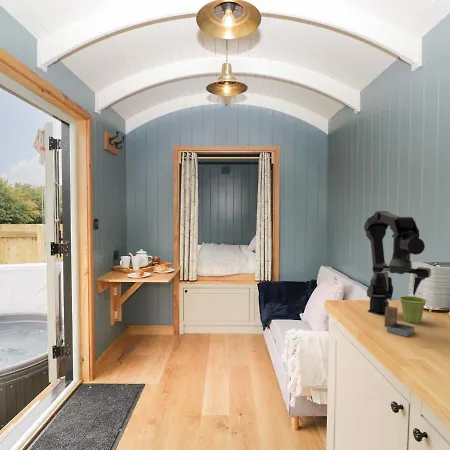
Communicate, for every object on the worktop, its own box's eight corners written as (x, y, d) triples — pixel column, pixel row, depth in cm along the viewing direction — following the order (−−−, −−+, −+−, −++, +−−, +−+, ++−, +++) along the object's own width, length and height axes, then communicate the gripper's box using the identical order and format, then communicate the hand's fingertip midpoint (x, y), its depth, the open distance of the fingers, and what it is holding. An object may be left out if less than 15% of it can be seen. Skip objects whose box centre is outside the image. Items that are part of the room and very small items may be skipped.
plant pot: (410, 325, 134) (411, 302, 134) (393, 318, 143) (394, 296, 143) (431, 324, 136) (432, 301, 136) (413, 316, 145) (414, 295, 145)
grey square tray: (386, 332, 127) (387, 326, 126) (394, 327, 131) (394, 322, 131) (407, 337, 122) (407, 331, 122) (414, 332, 126) (414, 327, 126)
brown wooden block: (384, 326, 133) (385, 307, 133) (388, 324, 135) (388, 306, 135) (393, 328, 131) (394, 309, 130) (396, 326, 133) (397, 307, 132)
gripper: (368, 250, 130) (367, 293, 131) (426, 255, 119) (424, 301, 120) (377, 248, 139) (376, 287, 140) (432, 252, 128) (430, 295, 129)
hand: (400, 292), depth 132 cm, fingers open, 9 cm apart
